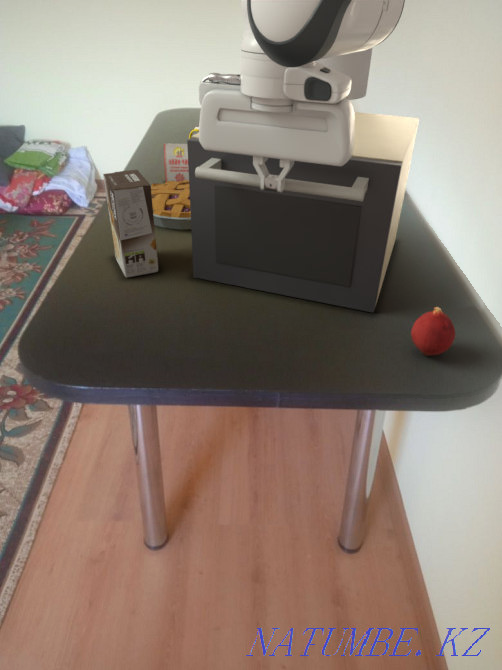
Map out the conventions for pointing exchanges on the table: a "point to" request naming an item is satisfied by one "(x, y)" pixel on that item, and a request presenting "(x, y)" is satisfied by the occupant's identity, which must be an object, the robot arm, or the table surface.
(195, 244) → the oven door
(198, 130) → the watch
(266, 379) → the table surface
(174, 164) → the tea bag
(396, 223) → the oven
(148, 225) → the coffee box
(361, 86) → the lamp
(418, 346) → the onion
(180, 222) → the pie
